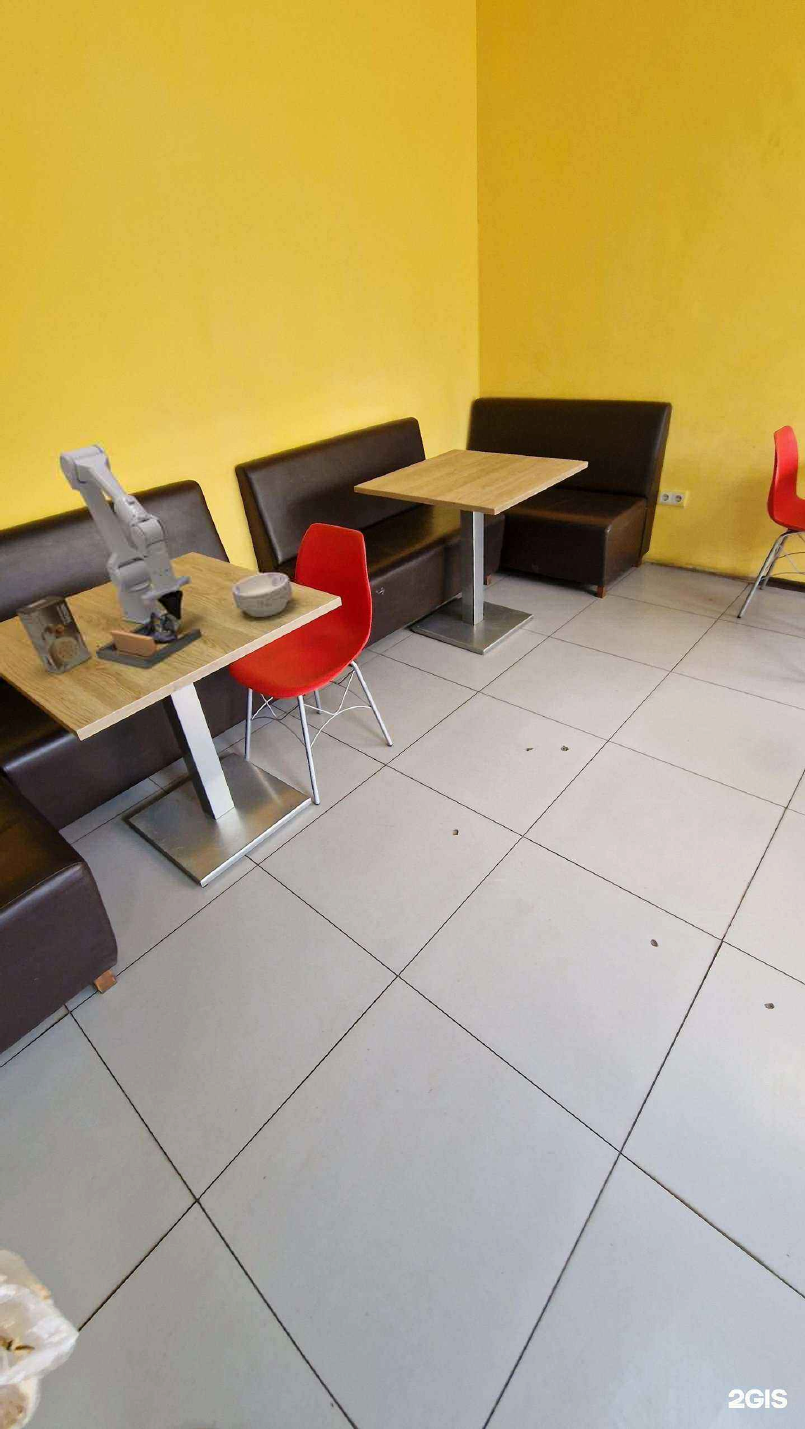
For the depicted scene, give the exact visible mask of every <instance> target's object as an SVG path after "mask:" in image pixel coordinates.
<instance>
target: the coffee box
mask: <svg viewBox="0 0 805 1429" xmlns="http://www.w3.org/2000/svg"><path fill="white" fill-rule="evenodd" d="M15 612H16V614H17V616H18V618H19V620H20V621H21V624H22V626H23V628H24V631H25V632H26V634H27V635H28V636H27V637H28V638H29V640H30V642H31V644H32V646H33V648H34V650H35V652H36V653H37V656H38V658H39V660H40V663H41V664H42V666H43V668H44V670H45V671H48V672H51V673H54V674H57V675H61V674H63V673H66V672H67V671H68V670H70V669H73V668H74V667H76V666H78V665H80V664H82V663H83V662H85V661H87V660H89V659H92V656H91V653H90V651H89V649H88V647H87V644H86V642H85V640H84V638H83V636H82V634H81V632H80V629H79V627H78V624H77V623H76V620H75V617H74V616H73V614H72V611H71V609H70V607H69V604H68V602H67V600H66V598H64V597H61V596H55V595H48V596H46V597H44V598H41V599H39V600H35V601H34V602H32V603H29V604H27V605H24V606H23V607H20V608H18V609H16V610H15Z"/></svg>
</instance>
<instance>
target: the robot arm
mask: <svg viewBox="0 0 805 1429" xmlns="http://www.w3.org/2000/svg"><path fill="white" fill-rule="evenodd" d="M58 460H59V465H60V469H61V472H62V474H63V475H64V476H65V478H66V481H67V483H68V484H69V485H70V487H71V489H72V490H73V491H77V492H79V493H80V495H81V497H82V499H83V500H84V502H85V505H86V507H87V509H88V511H89V512H90V515H91V516H92V518H93V520H94V523H95V524H96V526H97V528H98V530H99V532H100V533H101V536H102V538H103V540H104V541H105V544H106V545H107V547H108V549H109V552H110V553H111V554H110V557H109V559H108V560H107V563H106V569H107V571H108V574H109V579H110V580H111V583H112V585H113V586H114V587H115V588H116V589H117V590H118V591H117V598H118V602H119V603H120V607H121V609H122V612H123V615H124V617H123V618H122V620H123V621H125V622H132V623H136V624H141V625H143V624H145V623H146V622H148V621H150V616H151V613H152V612H154V613H156V614H158V615H159V616H161V617H163V616H165V614H167V613H169V614H170V615H173V616H175V617H176V619H177V620H178V621H180V620H182V601H183V596H184V593H183V591H182V590H181V588H182V587H183V586H185V585H190V584H192V579H191V576H190V575H189V574H184V575H180V576H178V577H176V574H175V572H174V569H173V566H172V563H171V559H170V556H169V552H168V549H167V547H166V543H165V541H166V539H167V531H166V529H165V528H166V527H165V526H164V524H163V523H162V521H161V520H160V519H159V518H158V517H157V516H154V515H153V514H151V513H148V512H147V511H146V509H145V508H144V507H143V506H142V504H141V503H140V502H139V501H138V500H137V498H136V497H135V496H133V495H130V494H126V492H125V490H124V488H123V487H122V485H121V484H120V483H119V481H118V479H117V478H116V477H115V475H114V474H113V472H112V471H111V464H110V460H109V457H108V455H107V453H106V451H105V450H104V448H103V447H102V446H100V445H98V444H93V445H92V446H87V447H82V448H80V449H75V450H71V451H67V452H65V451H63V452H61V453H60V454H59V458H58ZM105 495H106V496H107V497H108V498H109V499H110V500H111V501H112V502H113V503H114V504H113V509H114V512H115V513H116V514H117V516H118V518H120V519H121V520H122V522H123V523H124V525H126V527H127V528H128V529H129V530H130V537H131V538H132V540H133V543H134V544H135V545H136V547H137V549H134V548H132V547H131V546H130V544H129V542H128V539H127V538H126V536H125V533H124V532H123V530H122V528H121V526H120V524H119V523H118V520H117V518H116V516H115V514H114V512H113V510H112V509H111V506H110V504H109V502H108V501H107V498H106V497H105ZM126 562H127V563H126ZM123 563H125V564H123ZM121 564H122V565H121ZM158 603H159V604H160V605H161V606H162V607H163V608H164V609H165V610H164V609H160V608H159V604H158ZM163 613H164V614H163Z"/></svg>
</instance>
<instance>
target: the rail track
mask: <svg viewBox="0 0 805 1429" xmlns="http://www.w3.org/2000/svg"><path fill="white" fill-rule="evenodd" d="M149 623H150V621H148V622H146V623H145V624H141V625H140V626H137V627H136V628H133V629H132V630H130V631H128V633H133V634H138V635H143V633H144V631H145V630H146V628H147V627H148V624H149ZM202 634H203V633H202V631H201V628H199V627H198V628H197V627H195V628H194V629H192V630H190V631H188V632H187V633H185V634H183V635H182V636H180V637H177V639H176V640H175V641H170V643H168V644H167V645H165V646H163V647H161V648H160V649H157V651H156V652H155V653H153V654H151V655H150V656H148V657H147V656H145V658H144V657H140V656H136V655H133V654H129V653H128V654H127V653H123V652H119V651H118V650H117V648H116V645H115V643H114V640H112V641H110V642H108V643H106V644H104V645H103V646H101V647H98V649H97V650H95V653H96V656H97V658H98V659H103V660H107V661H111V662H114V663H115V662H116V663H119V664H122V665H123V664H124V665H128V666H130V667H131V666H132V667H136V668H139V669H144V670H149V669H151V668H153V667H154V666H155V665H157V664H159V663H161V662H162V661H164V660H166V659H167V658H169V657H170V656H172V655H173V654H175V653H177V652H178V651H180V650H181V649H183V648H185V647H186V646H188V645H190V644H192V643H193V642H194V641H196V640H198V639H200V638H202V636H203V635H202Z"/></svg>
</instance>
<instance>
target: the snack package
mask: <svg viewBox="0 0 805 1429" xmlns="http://www.w3.org/2000/svg"><path fill="white" fill-rule="evenodd" d="M163 614H164V613H163ZM179 627H180V626H179V620H177V619H176V617H175V616H173V615H170V614H169V613H168V612H167V613H166V614H164V616H159V615H158V614H156V613H154V612H152V613H151V616H150V623H149V624H148V627H147V628H146V630H145V631H144V633H143V636H147V637H152V638H153V640H154V641H157V642H159V644H164V643H165V644H167V643H169V642H170V643H171V642H173V641H175V640H176V639H178V636H177V632H178V630H179Z"/></svg>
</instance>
